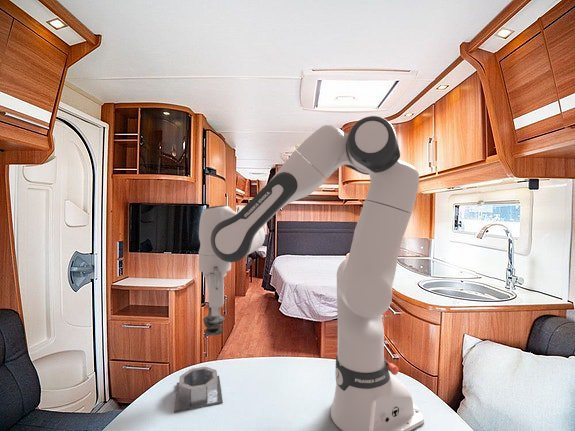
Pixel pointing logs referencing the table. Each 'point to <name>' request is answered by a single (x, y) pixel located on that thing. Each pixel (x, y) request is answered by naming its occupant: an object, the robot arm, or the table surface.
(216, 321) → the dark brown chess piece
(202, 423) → the table surface
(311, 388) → the table surface
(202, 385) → the duct collar
